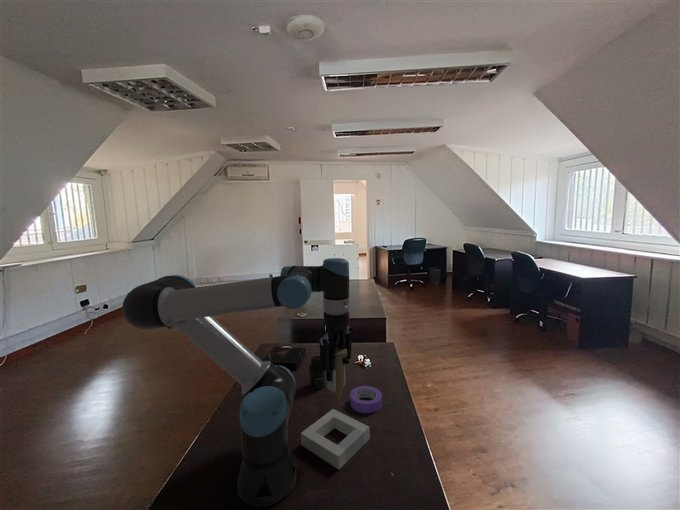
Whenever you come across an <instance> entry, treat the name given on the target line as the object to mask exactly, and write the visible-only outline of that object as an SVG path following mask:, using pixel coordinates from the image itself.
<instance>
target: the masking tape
mask: <svg viewBox="0 0 680 510" xmlns="http://www.w3.org/2000/svg"><path fill="white" fill-rule="evenodd" d="M382 397H383V395H382V392H381V391H380V390H379V389H378V388H377V387H376V388H375V387H374V386H370V385H361V386H357V387H355V388H353V389H351V391H350V395H349V403H350V407H351V408H352V409H353V410H354V411H355V412H358V413H361V414H372V413H375V412H377V411H379V410H380V409H381V408H382V405H383V404H382V403H383V401H382ZM363 398H369V399H370V400H364V399H363Z"/></svg>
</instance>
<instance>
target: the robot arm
mask: <svg viewBox="0 0 680 510" xmlns="http://www.w3.org/2000/svg"><path fill="white" fill-rule="evenodd" d="M312 293H323V294H322V295H323V299H322V300H323V301H322V302H323V304H322V307H323V311H324V312H323V325H324V326H325V331H324V335H323V336H322V337H318V338H317V341H318V344H319V356H320V364H321V369H322V370H325V381H326V388H327V390H328V391H330V392H331V391H333V392H335V391H336V370H334V363H335V354H336V348H340V349H343V350H344V349H347V356H346V357H344V358H342V369H343V386H346V385H347V384H346V381H347V380H346V373H347V365H349V364H350V360H351V359H352V340H353V332H354V328H353V327H351V326H349V324H350V312H349V311H350V263H349V261H348V260H347V259H345V258H339V257H338V258H337V257H333V258H325V259H323V262H322V265H317V266H316V265H289V266H288V265H287V266H284V267H282V268H281V271H280V275H279V276H278V275H277V276H271V277H270V276H269V277H263V278H256V279H248V280H241V281H234V282H228V283H227V282H226V283H220V284H213V285H212V284H211V285H205V286H204V285H203V286H198V287H197V286H196V284H195V283H194V282H193V281H192V280H191V279H190V278H188V277H186V276H184V275H180V274H171V275H165V276H162V277H160V278H158V279H155V280H152V281H150V282H147V283H143V284H141V285H138V286H136V287H133V288H132V289H131V290H130V291H129V292H127V294H126V296H125V297H124V299H123V301H122V305H121V307H122V309H121V311H122V316H123V317H124V319H125V320H126V321H127V323H128V324H129V325H130V326H132V327H134V328H137V329H141V330H153V329H154V330H155V329H160V328H167V329H168V330H170V331H179V332H181V333H182V334H183V335H185V336H186V337H187V339H189V340H190V341H191V342H192V343H194V344H195V345H196V346H197V347H198V348H199V349H200V350H201V351H203V353H205V354H206V355H207V356H208V357H209V358H210V359H211V360H213V361H214V362H215V363H216V365H218V366H219V367H220V368H221V369H223V371H225V373H227V374H228V375H229V376H230V377H231V378H232V379H233V380H235V381H236V382H237V383H239V384H240V386H241V394H242V395H243V396H244V397H243V399H242V401H241V403H240V407H239V412H238V414H239V415H238V416H239V419H238V421H239V427H240V437H241V440H240V441H241V452H242V460H241V465H240V469H239V473H238V476H237V479H236V480H237V481H236V483H237V495H238V497H239V499H240V498H241V499H240V500H241V501H242V502H243V503H244V502H245V503H247V504H250V505H258V506H259V505H260V506H264V505H269V504H272V503H274V502H277V501H279V500H280V499H282V498H284V497H285V496H286V495H287V496H289V495H290V493H291V492H292V491H293V489H294V488H295V485H296V483H297V466H296V463H295V461H294V458H293V455H292V453H291V451H290V448H289V432H288V431H289V429H288V424H289V418H290V414H291V410H292V406H293V401H294V398H295V396H296V379H295V377H294V375H293V373H292V372H291V370H288V369H287V368H285V367H283V366H277V365H274V364H273V363H271V362H270V361H263V360H261V358H259V357H258V356H257V355H256V354H255V353H254V352H253V351H251V350H250V349H249V347H247V346H246V345H245V344H244V343H243V342H242V341H240V339H239V338H237V337H236V335H234V334H233V333H232V332H230V331H229V330H228V329H227V328H226V327H225V326H224V325H223V324H222V323H220V322H219V321H218V319H217V318H215V317H216V316H223V315H231V314H237V313H244V312H250V311H251V312H252V311H258V310H265V309H271V308H278V307H279V308H280V307H285V308H287V309H290V310H296V309H297V310H298V309H300V308H302V307H303V306H304V305H306V303H307V302H308V301H309V299H311V296H312ZM287 496H286V497H287ZM286 497H285V498H286ZM285 498H284V499H285ZM245 503H244V504H245ZM247 504H246V505H247Z"/></svg>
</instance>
